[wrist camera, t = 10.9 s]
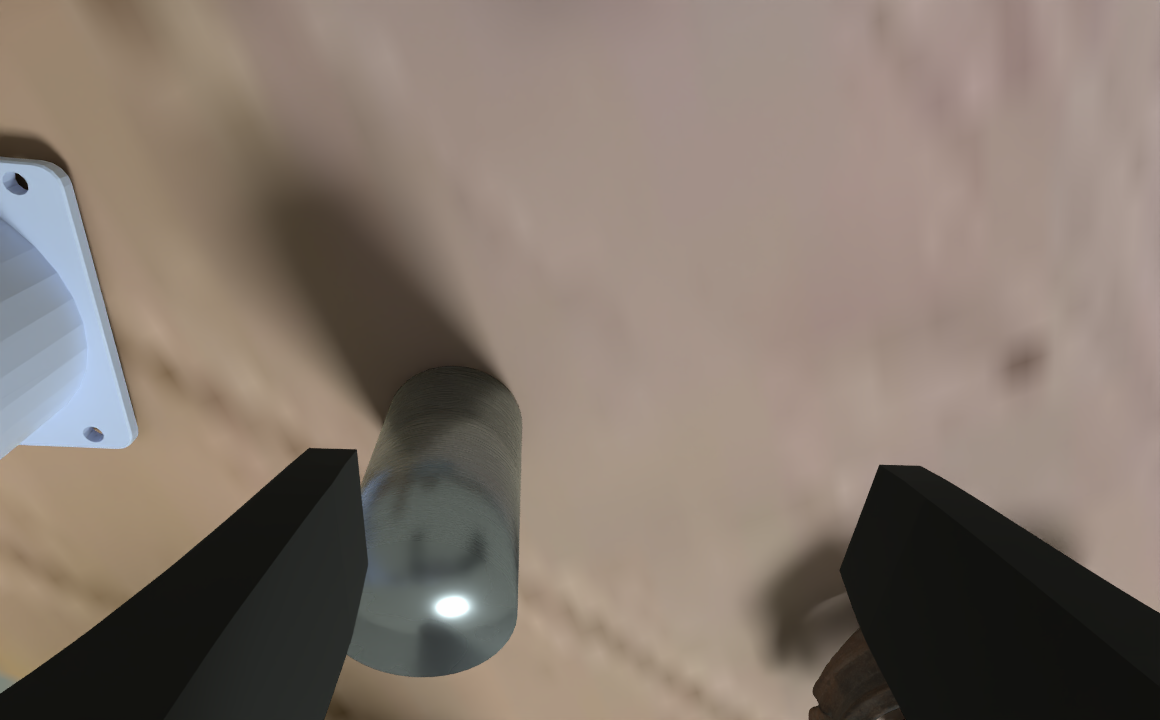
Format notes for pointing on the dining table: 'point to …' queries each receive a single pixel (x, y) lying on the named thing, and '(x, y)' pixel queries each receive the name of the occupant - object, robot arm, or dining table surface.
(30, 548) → the dining table surface
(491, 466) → the round peg
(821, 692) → the pottery mug
